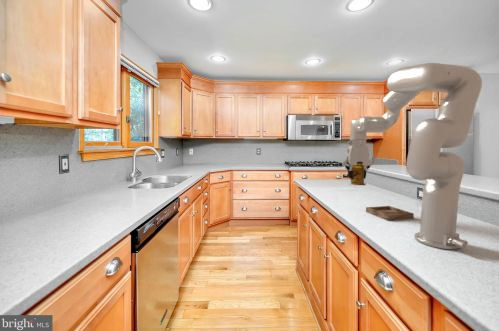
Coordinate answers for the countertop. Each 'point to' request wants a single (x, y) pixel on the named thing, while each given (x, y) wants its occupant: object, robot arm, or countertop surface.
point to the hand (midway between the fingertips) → (356, 178)
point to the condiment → (358, 174)
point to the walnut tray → (389, 213)
